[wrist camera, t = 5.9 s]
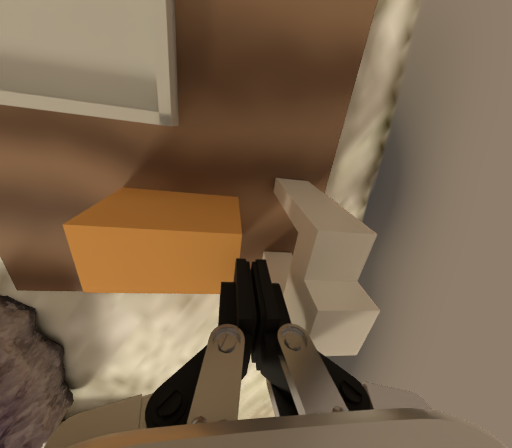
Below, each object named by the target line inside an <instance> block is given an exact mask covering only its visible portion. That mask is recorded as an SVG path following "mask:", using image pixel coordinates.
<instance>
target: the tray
mask: <svg viewBox="0 0 512 448" xmlns="http://www.w3.org/2000/svg"><path fill="white" fill-rule="evenodd" d="M0 105H8V106H16V107H24V108H32V109H39V110H47V111H55V112H63V113H70V114H78V115H86V116H94V117H102V118H109V119H117V120H125V121H133V122H140V123H148V124H156V125H164V126H171V127H172V126H179V119H178V89H177V59H176V28H175V0H0Z"/></svg>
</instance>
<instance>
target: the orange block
mask: <svg viewBox="0 0 512 448" xmlns="http://www.w3.org/2000/svg"><path fill="white" fill-rule="evenodd" d="M62 225H63V228H64V231H65V234H66V238H67V241H68V244H69V247H70V251H71V254H72V257H73V260H74V264H75V267H76V270H77V273H78V276H79V280H80V283H81V286H82V289H83V292H88V293H181V294H220V291H221V282H233V281H234V272H235V262H236V258H240V250H241V241H242V228H241V219H240V209H239V199H238V197H232V196H220V195H208V194H196V193H184V192H172V191H160V190H147V189H135V188H121V189H119V190H118V191H116V192H114V193H113V194H111V195H110V196H108V197H106V198H105V199H103V200H101V201H100V202H98V203H97V204H95V205H93V206H92V207H90V208H88V209H87V210H85V211H84V212H82V213H80V214H79V215H77V216H75V217H74V218H72V219H71V220H69V221H67V222H66V223H64V224H62Z"/></svg>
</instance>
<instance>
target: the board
mask: <svg viewBox="0 0 512 448" xmlns="http://www.w3.org/2000/svg"><path fill="white" fill-rule="evenodd" d="M377 1H378V0H175V28H176V59H177V89H178V119H179V126H172V127H171V126H164V125H156V124H148V123H140V122H133V121H125V120H117V119H109V118H102V117H94V116H86V115H78V114H70V113H63V112H55V111H47V110H39V109H32V108H24V107H16V106H8V105H0V257H1V259H2V261H3V263H4V265H5V267H6V269H7V271H8V273H9V275H10V277H11V279H12V281H13V283H14V285H15V287H16V289H17V290H34V291H83V289H82V286H81V283H80V280H79V276H78V273H77V270H76V267H75V264H74V260H73V257H72V254H71V251H70V247H69V244H68V241H67V238H66V234H65V231H64V228H63V225H62V224H64V223H66V222H67V221H69V220H71V219H72V218H74V217H75V216H77V215H79V214H80V213H82V212H84V211H85V210H87V209H88V208H90V207H92V206H93V205H95V204H97V203H98V202H100V201H101V200H103V199H105V198H106V197H108V196H110V195H111V194H113V193H114V192H116V191H118V190H119V189H121V188H135V189H147V190H160V191H172V192H184V193H196V194H208V195H220V196H232V197H238V199H239V209H240V219H241V228H242V241H241V250H240V258H243V259H246V261H249V262H250V269H251V264H252V261H254V262H255V260H256V259H262V258H263V252H286V253H292V255H293V253H294V249H295V245H296V241H297V236H298V231H297V230H296V228H295V227H294V225H293V223H292V222H291V220H290V218H289V217H288V215H287V213H286V212H285V210H284V209H283V207H282V205H281V204H280V202H279V200H278V199H277V197H276V195H275V194H274V192H273V191H274V185H275V179H276V178H282V179H292V180H302V181H309V182H310V183H311V184H312V185H314V186H315V187H316V188H318V189H319V190H320V191H322V192H323V193H325V189H326V186H327V182H328V178H329V175H330V171H331V168H332V164H333V160H334V157H335V153H336V149H337V146H338V142H339V139H340V135H341V131H342V128H343V124H344V121H345V117H346V113H347V110H348V106H349V102H350V99H351V95H352V92H353V88H354V84H355V81H356V77H357V74H358V70H359V66H360V63H361V59H362V55H363V52H364V48H365V45H366V41H367V37H368V34H369V30H370V26H371V23H372V19H373V16H374V12H375V8H376V5H377Z"/></svg>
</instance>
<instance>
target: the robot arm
mask: <svg viewBox="0 0 512 448" xmlns="http://www.w3.org/2000/svg"><path fill="white" fill-rule="evenodd" d="M250 355H251V359H252V363H256V369H257V370H260V371H261V374H262V375H263V376H264V377H265V378H266V382H267V387H268V391H269V395H270V398H271V402H272V406H273V409H274V413H275V417H269V418H257V419H244V420H238V409H239V398H240V388H241V380H242V379H243V378H244V376H245V375H246V374H247V369H248V364H249V360H250ZM44 448H508V447H507V446H505V445H504V444H503V443H502V442H501V441H500V440H498V439H497V438H496V437H495V436H493V435H492V434H490V433H489V432H488V431H486V430H484V429H483V428H481V427H479V426H477V425H475V424H473V423H471V422H469V421H467V420H464V419H462V418H459V417H457V416H454V415H451V414H448V413H445V412H441V411H437V410H432V409H431V407H430V406H429V405H428V404H427V403H426V402H425V400H424V399H423V398H421V397H420V396H418V395H417V394H415V393H413V392H410V391H406V390H401V389H396V388H392V387H388V386H383V385H378V384H374V383H369V382H365V383H364V384H362V383H360V382H359V381H358V380H357V379H356V378H354V377H353V376H351V375H350V374H349V373H347V372H346V371H345V370H343V369H342V368H340V367H339V366H338V365H336V364H335V363H334V362H332V361H331V360H330V359H328V358H327V357H325V356H324V355H323V354H321V353H320V352H319V351H317V349H316V347H315V346H314V344H313V342H312V340H311V338H310V336H309V334H308V333H307V332H306V330H304V329H303V328H302V327H300V326H299V325H296V324H292V323H291V320H290V317H289V313H288V310H287V307H286V303H285V300H284V297H283V293H282V290H281V287H280V284H279V283H272V282H271V278H270V274H269V270H268V266H267V262H266V260H265V259H256V260H255V262H254V261H252V264H251V269H250V262H249V261H246V259H243V258H236V262H235V272H234V281H233V282H221V291H220V306H219V323H218V327H216V328H215V329H214V330H213V331H212V332H211V335H210V337H209V340H208V344H207V346H205V347H204V348H203V349H202V350H201V351H200V352H199V353H197V354H196V355H195V356H194V357H193V358H192V359H191V360H189V361H188V362H187V363H186V364H185V365H184V366H183V367H182V368H180V369H179V370H178V371H177V372H176V373H175V374H174V375H172V376H171V377H170V378H169V379H168V380H167V381H166V382H164V383H163V384H162V385H161V386H160V387H159V388H158V389H157V390H156V391H155V392H154V393H153V394H149V395H146V396H143V397H142V394H140V395H137V396H134V397H130V398H127V399H124V400H120V401H117V402H114V403H110V404H107V405H104V406H100V407H97V408H94V409H91V410H87V411H84V412H81V413H78V414H76V415H73V416H71V417H69V418H68V419H67V420H65V421H64V422H63V423H61V424H60V425H59V426H58V427H57V428H56V429H55V431H54V432H53V433H52V434H51V435H50V437H49V439H48V441H47V443H46V445H45V446H44Z"/></svg>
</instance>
